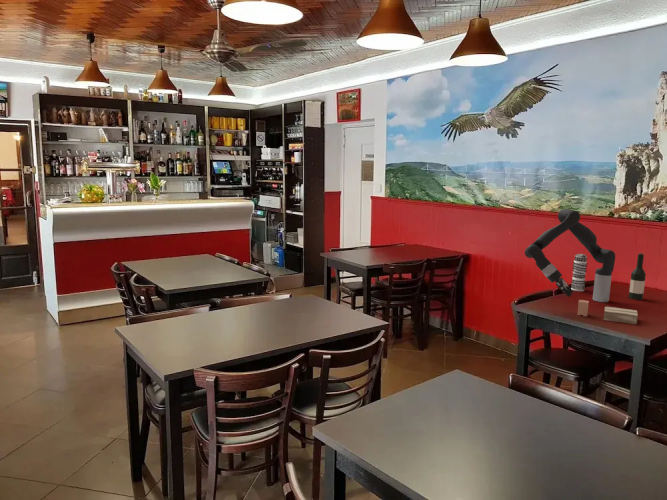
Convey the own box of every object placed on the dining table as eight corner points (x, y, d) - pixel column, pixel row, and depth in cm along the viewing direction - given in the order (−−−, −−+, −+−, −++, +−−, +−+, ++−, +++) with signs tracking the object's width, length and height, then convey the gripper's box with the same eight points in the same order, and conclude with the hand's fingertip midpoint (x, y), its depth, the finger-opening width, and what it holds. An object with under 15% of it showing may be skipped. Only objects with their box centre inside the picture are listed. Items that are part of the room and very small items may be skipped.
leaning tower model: (582, 292, 352) (586, 256, 348) (568, 289, 359) (571, 254, 355) (586, 289, 359) (590, 254, 355) (573, 287, 365) (576, 252, 361)
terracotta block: (577, 313, 300) (579, 299, 299) (587, 314, 298) (588, 301, 296) (577, 315, 296) (578, 301, 294) (586, 316, 293) (588, 302, 292)
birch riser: (604, 314, 298) (605, 306, 297) (636, 319, 290) (637, 310, 290) (603, 319, 288) (604, 311, 287) (636, 324, 280) (637, 315, 279)
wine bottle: (637, 300, 332) (643, 254, 327) (625, 297, 340) (630, 252, 335) (645, 299, 336) (651, 254, 331) (633, 296, 343) (638, 252, 339)
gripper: (555, 270, 294) (575, 293, 290) (558, 266, 306) (577, 288, 303) (544, 278, 297) (564, 300, 294) (547, 274, 310) (566, 295, 306)
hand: (570, 294), depth 298 cm, fingers open, 8 cm apart
